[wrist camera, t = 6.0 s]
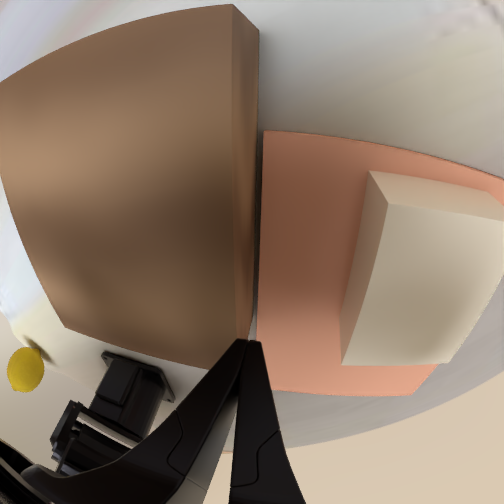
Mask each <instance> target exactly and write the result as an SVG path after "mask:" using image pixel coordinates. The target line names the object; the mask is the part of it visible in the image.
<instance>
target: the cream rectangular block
mask: <svg viewBox="0 0 504 504" xmlns="http://www.w3.org/2000/svg"><path fill="white" fill-rule="evenodd" d="M503 274H504V206H503V205H502V204H501V203H500V202H499V201H498V200H497V199H495V198H494V197H493V196H492V195H491V194H490V193H489V192H487V191H483V190H478V189H474V188H470V187H465V186H461V185H456V184H451V183H446V182H441V181H436V180H431V179H425V178H419V177H413V176H407V175H400V174H394V173H386V172H379V171H371V170H368V177H367V184H366V191H365V198H364V205H363V211H362V217H361V222H360V228H359V233H358V239H357V244H356V249H355V254H354V258H353V263H352V268H351V272H350V277H349V281H348V285H347V289H346V293H345V297H344V301H343V305H342V309H341V313H340V317H339V326H340V349H341V365H350V366H401V365H425V364H440V363H448V362H449V361H450V360H451V359H452V357H453V356H454V355H455V353H456V352H457V350H458V349H459V348H460V346H461V345H462V343H463V342H464V341H465V339H466V338H467V336H468V335H469V333H470V332H471V330H472V329H473V327H474V326H475V324H476V322H477V321H478V319H479V318H480V316H481V314H482V313H483V311H484V309H485V308H486V306H487V304H488V302H489V301H490V299H491V297H492V295H493V293H494V292H495V290H496V288H497V286H498V284H499V282H500V280H501V278H502V276H503Z"/></svg>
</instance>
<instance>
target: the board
mask: <svg viewBox="0 0 504 504" xmlns="http://www.w3.org/2000/svg"><path fill="white" fill-rule="evenodd" d="M258 63H259V30H258V29H257V28H256V27H255V26H254V25H253V24H252V23H251V22H250V21H249V20H248V19H247V17H246V16H245V15H244V14H242V13H241V12H240V11H239V10H238V9H237V8H236V7H235V6H234V5H233V4H225V5H215V6H206V7H198V8H191V9H185V10H179V11H174V12H169V13H164V14H160V15H155V16H151V17H147V18H143V19H139V20H135V21H132V22H128V23H125V24H122V25H119V26H115V27H112V28H109V29H107V30H104V31H101V32H98V33H95V34H93V35H90V36H88V37H85V38H83V39H80V40H78V41H75V42H73V43H71V44H69V45H66V46H64V47H62V48H60V49H58V50H56V51H54V52H52V53H50V54H48V55H46V56H44V57H42V58H40V59H38V60H36V61H34V62H33V63H31V64H29V65H27V66H26V67H24V68H22V69H21V70H19V71H17V72H16V73H14V74H12V75H11V76H9V77H8V78H6V79H5V80H3V81H2V82H0V175H1V179H2V183H3V187H4V190H5V194H6V197H7V201H8V204H9V207H10V210H11V213H12V216H13V219H14V222H15V225H16V227H17V230H18V233H19V235H20V238H21V241H22V243H23V246H24V248H25V250H26V253H27V255H28V257H29V260H30V262H31V264H32V266H33V269H34V271H35V273H36V275H37V277H38V279H39V281H40V283H41V285H42V287H43V289H44V291H45V293H46V295H47V297H48V299H49V301H50V302H51V304H52V306H53V308H54V310H55V311H56V313H57V315H58V317H59V318H60V320H61V322H62V323H63V325H64V327H65V328H68V329H71V330H73V331H76V332H78V333H81V334H84V335H87V336H89V337H92V338H95V339H98V340H101V341H104V342H107V343H110V344H113V345H116V346H119V347H122V348H125V349H129V350H132V351H135V352H139V353H142V354H146V355H149V356H153V357H157V358H160V359H164V360H168V361H172V362H176V363H181V364H185V365H189V366H194V367H198V368H203V369H208V370H210V369H211V368H212V367H213V366H214V364H215V363H216V362H217V361H218V360H219V358H220V357H221V356H222V355H223V354H224V353H225V351H226V350H227V349H228V348H229V347H230V345H231V344H232V343H233V342H234V341H235V340H236V339H237V338H242V339H247V338H248V334H249V330H250V326H251V321H252V317H253V292H254V251H255V207H256V162H257V114H258Z"/></svg>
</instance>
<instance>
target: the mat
mask: <svg viewBox="0 0 504 504" xmlns="http://www.w3.org/2000/svg"><path fill="white" fill-rule="evenodd" d="M368 170H371V171H379V172H386V173H394V174H400V175H407V176H413V177H419V178H425V179H431V180H436V181H441V182H446V183H451V184H456V185H461V186H465V187H470V188H474V189H478V190H483V191H487V192H489V193H490V194H491V195H492V196H493V197H494V198H495V199H497V200H498V201H499V202H500V203H501V204H502V205H503V206H504V179H502V178H499V177H497V176H494V175H491V174H489V173H486V172H483V171H480V170H477V169H474V168H471V167H468V166H465V165H462V164H458V163H455V162H452V161H448V160H445V159H441V158H437V157H434V156H430V155H426V154H422V153H418V152H414V151H409V150H405V149H401V148H396V147H391V146H386V145H381V144H376V143H370V142H365V141H359V140H353V139H346V138H339V137H332V136H324V135H316V134H307V133H297V132H285V131H271V130H265V131H264V137H263V171H262V202H261V231H260V259H259V285H258V310H257V334H256V341H260V342H261V343H262V347H263V352H264V357H265V362H266V366H267V371H268V376H269V380H270V385H271V389H272V390H280V391H289V392H299V393H310V394H324V395H343V396H402V395H412V394H413V393H414V391H415V390H416V389H417V388H418V387H419V386H420V385H421V384H422V383H423V382H424V380H425V379H426V378H427V377H428V376H429V375H430V373H431V372H432V371H433V370H434V369H435V367H436V366H437V365H438V364H425V365H401V366H350V365H341V349H340V326H339V317H340V313H341V309H342V305H343V301H344V297H345V293H346V289H347V285H348V281H349V277H350V272H351V268H352V263H353V258H354V254H355V249H356V244H357V239H358V233H359V228H360V222H361V217H362V211H363V205H364V198H365V191H366V184H367V177H368Z"/></svg>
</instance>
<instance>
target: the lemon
mask: <svg viewBox="0 0 504 504" xmlns="http://www.w3.org/2000/svg"><path fill="white" fill-rule="evenodd" d="M7 375H8V379H9V381H10V383H11V385H12V388H13V390H15V391H20V392H30V391H32V390H34V389H35V388H36V387H37V386H38V385H39V383H40V382H41V380H42V378H43V375H44V363H43V360H42V358H41V355H40V350H39V349H37V348H36V349H31V348H28V347H23V348H20V349H18V350H17V351H16V352H15V353H14V354H13V355H12V357H11V358H10V361H9V363H8V368H7Z"/></svg>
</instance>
